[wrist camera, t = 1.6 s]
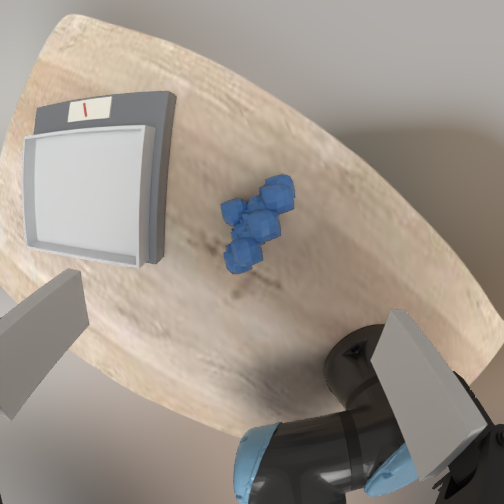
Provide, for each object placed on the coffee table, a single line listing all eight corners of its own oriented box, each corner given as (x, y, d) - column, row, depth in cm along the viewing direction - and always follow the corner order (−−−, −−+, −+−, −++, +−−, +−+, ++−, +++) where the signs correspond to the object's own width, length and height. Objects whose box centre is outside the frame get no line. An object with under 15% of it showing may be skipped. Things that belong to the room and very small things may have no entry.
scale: (176, 96, 29) (159, 84, 24) (163, 256, 36) (147, 273, 30) (49, 109, 29) (23, 106, 23) (46, 238, 36) (22, 250, 30)
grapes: (251, 154, 32) (246, 150, 20) (300, 183, 33) (321, 195, 21) (206, 236, 35) (180, 273, 24) (252, 261, 36) (248, 308, 25)
